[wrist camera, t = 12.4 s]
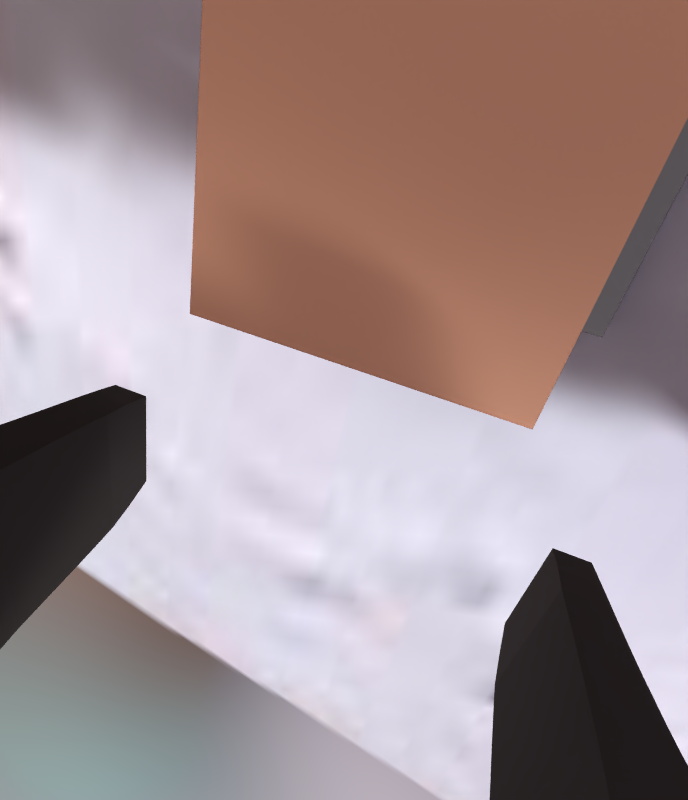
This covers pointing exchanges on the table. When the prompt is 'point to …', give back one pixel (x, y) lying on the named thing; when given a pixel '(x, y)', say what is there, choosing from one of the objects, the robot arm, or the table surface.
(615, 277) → the baseplate
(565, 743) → the robot arm
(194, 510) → the table surface
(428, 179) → the terracotta block
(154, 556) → the table surface
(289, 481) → the table surface
